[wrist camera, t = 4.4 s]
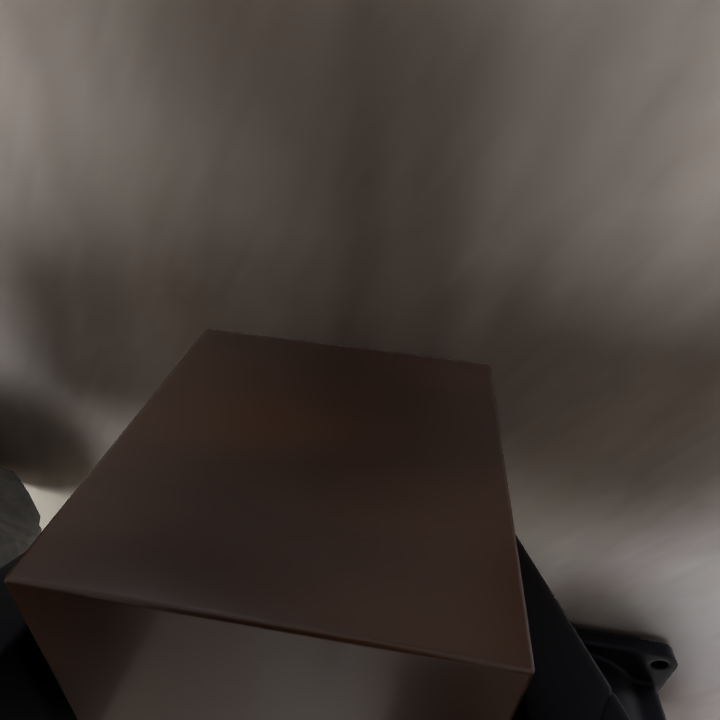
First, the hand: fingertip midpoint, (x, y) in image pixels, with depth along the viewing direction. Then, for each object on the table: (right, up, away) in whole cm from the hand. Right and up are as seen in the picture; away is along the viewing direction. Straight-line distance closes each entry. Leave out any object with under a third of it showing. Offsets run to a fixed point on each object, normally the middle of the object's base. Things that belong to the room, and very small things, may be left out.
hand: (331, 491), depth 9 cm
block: (0, +1, +1) cm, 1 cm away
